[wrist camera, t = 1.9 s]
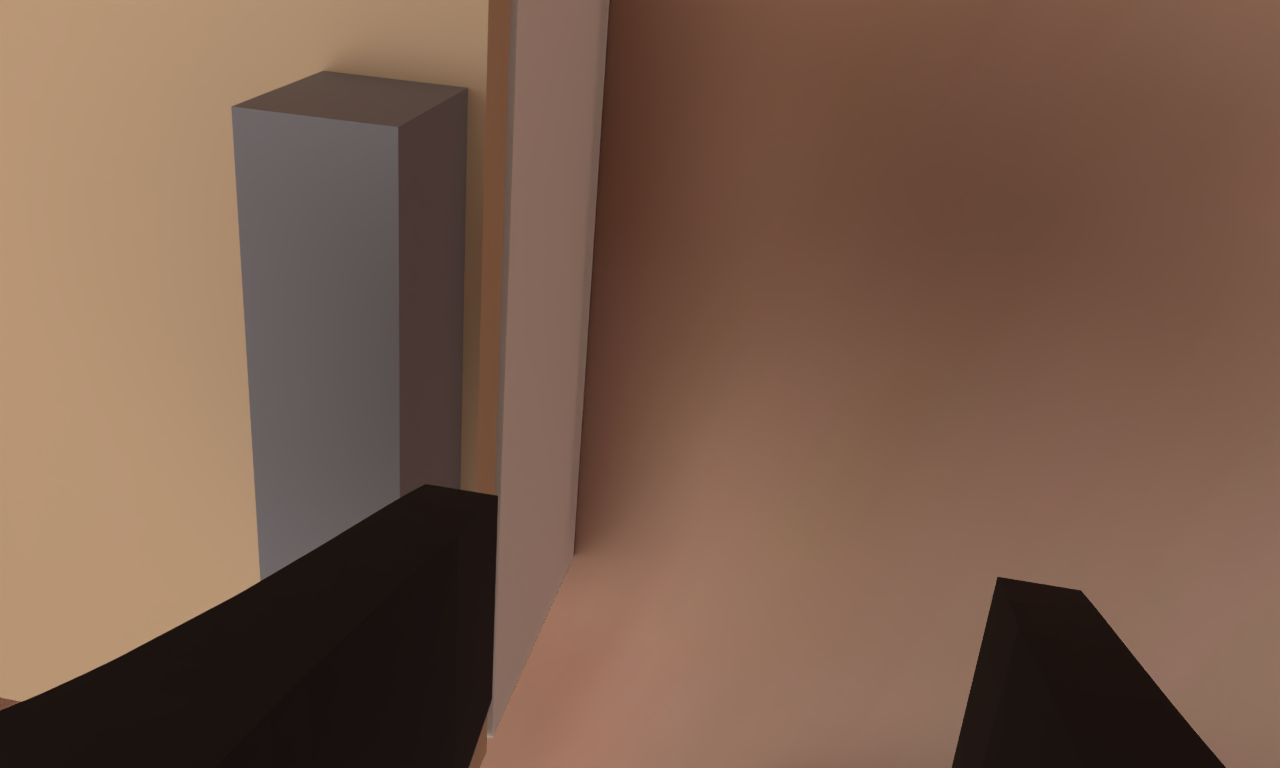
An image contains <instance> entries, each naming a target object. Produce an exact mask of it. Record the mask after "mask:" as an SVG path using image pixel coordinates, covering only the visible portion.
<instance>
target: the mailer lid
mask: <svg viewBox="0 0 1280 768" xmlns="http://www.w3.org/2000/svg"><path fill="white" fill-rule="evenodd" d="M510 3H511V0H0V698H5V699H10V700H15V701H20V702H22V701H25V700H27V699H29V698H32V697H34V696H36V695H39V694H41V693H44V692H46V691H48V690H50V689H52V688H55V687H57V686H59V685H61V684H63V683H65V682H68V681H70V680H72V679H74V678H76V677H78V676H81V675H83V674H85V673H87V672H89V671H91V670H93V669H95V668H97V667H100V666H102V665H104V664H106V663H108V662H110V661H112V660H114V659H116V658H118V657H120V656H122V655H124V654H126V653H128V652H130V651H132V650H133V649H135V648H137V647H139V646H141V645H143V644H145V643H147V642H149V641H150V640H152V639H154V638H156V637H158V636H160V635H162V634H164V633H166V632H168V631H169V630H171V629H173V628H175V627H177V626H179V625H181V624H183V623H185V622H186V621H188V620H190V619H192V618H194V617H196V616H198V615H200V614H202V613H204V612H205V611H207V610H209V609H211V608H213V607H215V606H217V605H219V604H221V603H222V602H224V601H226V600H228V599H230V598H232V597H234V596H236V595H237V594H239V593H241V592H243V591H244V590H246V589H248V588H250V587H251V586H253V585H255V584H256V583H258V582H260V581H261V580H263V579H265V578H267V577H268V576H270V575H272V574H273V573H275V572H277V571H278V570H280V569H282V568H284V567H285V566H287V565H289V564H290V563H292V562H294V561H295V560H297V559H299V558H301V557H302V556H304V555H306V554H307V553H309V552H311V551H312V550H314V549H316V548H318V547H319V546H321V545H323V544H324V543H326V542H328V541H329V540H331V539H332V538H334V537H336V536H337V535H339V534H341V533H342V532H344V531H346V530H347V529H349V528H351V527H352V526H354V525H355V524H357V523H359V522H360V521H362V520H364V519H365V518H367V517H369V516H370V515H372V514H374V513H375V512H377V511H379V510H380V509H382V508H384V507H385V506H387V505H389V504H390V503H392V502H394V501H395V500H397V499H399V498H400V497H402V496H404V495H406V494H408V493H409V492H411V491H413V490H415V489H417V488H419V487H421V486H423V485H425V484H429V485H435V486H441V487H448V488H454V489H460V490H466V491H472V492H478V493H484V494H491V495H495V466H496V435H497V404H498V373H499V342H500V312H501V281H502V250H503V219H504V188H505V157H506V126H507V95H508V64H509V34H510ZM486 744H487V716H486V719H485V722H484V725H483V728H482V731H481V734H480V737H479V739H478V742H477V745H476V748H475V751H474V754H473V757H472V760H471V763H470V766H469V768H479V767H480V765H481V763H482V760H483V758H484V756H485V754H486Z"/></svg>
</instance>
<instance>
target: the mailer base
mask: <svg viewBox="0 0 1280 768" xmlns="http://www.w3.org/2000/svg"><path fill="white" fill-rule="evenodd" d="M608 16H609V0H511V3H510V34H509V64H508V95H507V126H506V157H505V188H504V219H503V250H502V281H501V312H500V342H499V373H498V404H497V435H496V466H495V495H497V496H498V516H497V550H496V584H495V617H494V651H493V685H492V701H491V704H490V707H489V710H488V713H487V737H489V738H493V736H494V734H495V731H496V729H497V727H498V725H499V722H500V720H501V718H502V716H503V713H504V711H505V709H506V707H507V705H508V702H509V700H510V698H511V696H512V693H513V691H514V689H515V687H516V684H517V682H518V680H519V678H520V675H521V673H522V671H523V669H524V666H525V664H526V662H527V660H528V658H529V655H530V653H531V651H532V649H533V646H534V644H535V642H536V640H537V637H538V635H539V633H540V631H541V628H542V626H543V624H544V622H545V620H546V617H547V615H548V613H549V611H550V608H551V606H552V604H553V602H554V599H555V597H556V595H557V593H558V590H559V588H560V586H561V584H562V581H563V579H564V577H565V575H566V573H567V570H568V568H569V566H570V564H571V561H572V559H573V555H574V540H575V525H576V509H577V494H578V478H579V463H580V447H581V432H582V417H583V401H584V386H585V370H586V355H587V339H588V324H589V309H590V293H591V278H592V262H593V247H594V232H595V216H596V201H597V185H598V170H599V154H600V139H601V124H602V108H603V93H604V77H605V62H606V46H607V31H608Z"/></svg>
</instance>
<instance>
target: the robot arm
mask: <svg viewBox="0 0 1280 768" xmlns="http://www.w3.org/2000/svg"><path fill="white" fill-rule="evenodd" d="M497 516H498V496H497V495H491V494H484V493H478V492H472V491H466V490H460V489H454V488H448V487H441V486H435V485H429V484H425V485H423V486H421V487H419V488H417V489H415V490H413V491H411V492H409V493H408V494H406V495H404V496H402V497H400V498H399V499H397V500H395V501H394V502H392V503H390V504H389V505H387V506H385V507H384V508H382V509H380V510H379V511H377V512H375V513H374V514H372V515H370V516H369V517H367V518H365V519H364V520H362V521H360V522H359V523H357V524H355V525H354V526H352V527H351V528H349V529H347V530H346V531H344V532H342V533H341V534H339V535H337V536H336V537H334V538H332V539H331V540H329V541H328V542H326V543H324V544H323V545H321V546H319V547H318V548H316V549H314V550H312V551H311V552H309V553H307V554H306V555H304V556H302V557H301V558H299V559H297V560H295V561H294V562H292V563H290V564H289V565H287V566H285V567H284V568H282V569H280V570H278V571H277V572H275V573H273V574H272V575H270V576H268V577H267V578H265V579H263V580H261V581H260V582H258V583H256V584H255V585H253V586H251V587H250V588H248V589H246V590H244V591H243V592H241V593H239V594H237V595H236V596H234V597H232V598H230V599H228V600H226V601H224V602H222V603H221V604H219V605H217V606H215V607H213V608H211V609H209V610H207V611H205V612H204V613H202V614H200V615H198V616H196V617H194V618H192V619H190V620H188V621H186V622H185V623H183V624H181V625H179V626H177V627H175V628H173V629H171V630H169V631H168V632H166V633H164V634H162V635H160V636H158V637H156V638H154V639H152V640H150V641H149V642H147V643H145V644H143V645H141V646H139V647H137V648H135V649H133V650H132V651H130V652H128V653H126V654H124V655H122V656H120V657H118V658H116V659H114V660H112V661H110V662H108V663H106V664H104V665H102V666H100V667H97V668H95V669H93V670H91V671H89V672H87V673H85V674H83V675H81V676H78V677H76V678H74V679H72V680H70V681H68V682H65V683H63V684H61V685H59V686H57V687H55V688H52V689H50V690H48V691H46V692H44V693H41V694H39V695H36V696H34V697H32V698H29V699H27V700H25V701H22V702H20V703H18V704H15V705H13V706H11V707H8V708H6V709H4V710H1V711H0V768H469V766H470V763H471V760H472V757H473V754H474V751H475V748H476V745H477V742H478V739H479V737H480V734H481V731H482V728H483V725H484V722H485V719H486V716H487V713H488V710H489V707H490V704H491V701H492V685H493V651H494V617H495V584H496V550H497ZM952 768H1226V767H1225V766H1224V765H1223V764H1222V763H1221V762H1220V760H1219V759H1218V758H1217V757H1216V756H1215V754H1214V753H1213V752H1212V751H1211V750H1210V749H1209V747H1208V746H1207V745H1206V744H1205V743H1204V742H1203V740H1202V739H1201V738H1200V737H1199V736H1198V734H1197V733H1196V732H1195V731H1194V730H1193V728H1192V727H1191V726H1190V725H1189V724H1188V722H1187V721H1186V720H1185V719H1184V718H1183V716H1182V715H1181V714H1180V713H1179V712H1178V710H1177V709H1176V708H1175V707H1174V705H1173V704H1172V703H1171V702H1170V701H1169V699H1168V698H1167V697H1166V696H1165V694H1164V693H1163V692H1162V691H1161V689H1160V688H1159V687H1158V686H1157V684H1156V683H1155V682H1154V681H1153V679H1152V678H1151V677H1150V676H1149V675H1148V673H1147V672H1146V671H1145V670H1144V668H1143V667H1142V666H1141V665H1140V663H1139V662H1138V661H1137V660H1136V658H1135V657H1134V656H1133V655H1132V653H1131V652H1130V651H1129V649H1128V648H1127V647H1126V646H1125V644H1124V643H1123V642H1122V641H1121V639H1120V638H1119V637H1118V636H1117V634H1116V633H1115V632H1114V631H1113V629H1112V628H1111V627H1110V625H1109V624H1108V623H1107V622H1106V620H1105V619H1104V618H1103V617H1102V615H1101V614H1100V613H1099V612H1098V610H1097V609H1096V608H1095V607H1094V606H1093V604H1092V603H1091V602H1090V601H1089V600H1088V598H1087V597H1086V596H1085V595H1084V594H1083V592H1082V591H1081V590H1075V589H1069V588H1062V587H1056V586H1050V585H1044V584H1038V583H1032V582H1026V581H1019V580H1013V579H1007V578H1001V577H998V578H997V582H996V586H995V590H994V594H993V598H992V603H991V607H990V611H989V615H988V619H987V623H986V628H985V632H984V636H983V640H982V644H981V648H980V652H979V657H978V661H977V665H976V669H975V673H974V677H973V682H972V686H971V690H970V694H969V698H968V702H967V707H966V711H965V715H964V719H963V723H962V727H961V731H960V736H959V740H958V744H957V748H956V752H955V756H954V761H953V765H952Z"/></svg>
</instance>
